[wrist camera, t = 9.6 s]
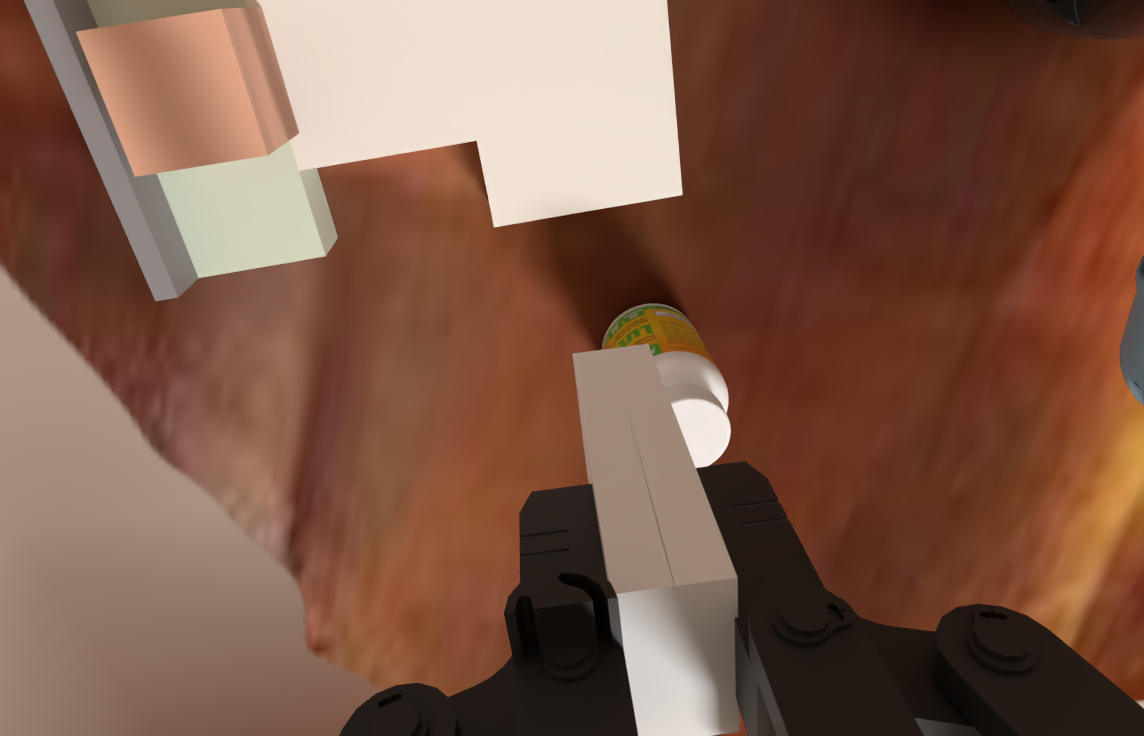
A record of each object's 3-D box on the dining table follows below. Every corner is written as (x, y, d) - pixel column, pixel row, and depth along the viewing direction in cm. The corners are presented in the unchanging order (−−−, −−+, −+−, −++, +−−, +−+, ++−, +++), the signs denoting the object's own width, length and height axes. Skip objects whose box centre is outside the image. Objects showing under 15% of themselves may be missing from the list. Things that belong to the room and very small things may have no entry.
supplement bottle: (632, 284, 40) (670, 363, 31) (713, 326, 42) (770, 413, 33) (583, 364, 42) (605, 460, 33) (662, 401, 44) (703, 502, 35)
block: (261, 6, 30) (220, 8, 26) (299, 133, 32) (267, 155, 28) (138, 26, 30) (75, 31, 26) (185, 151, 32) (134, 176, 28)
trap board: (635, -208, 30) (661, -246, 26) (669, 180, 38) (695, 208, 33) (52, -112, 30) (-35, -133, 25) (200, 261, 37) (155, 301, 33)
